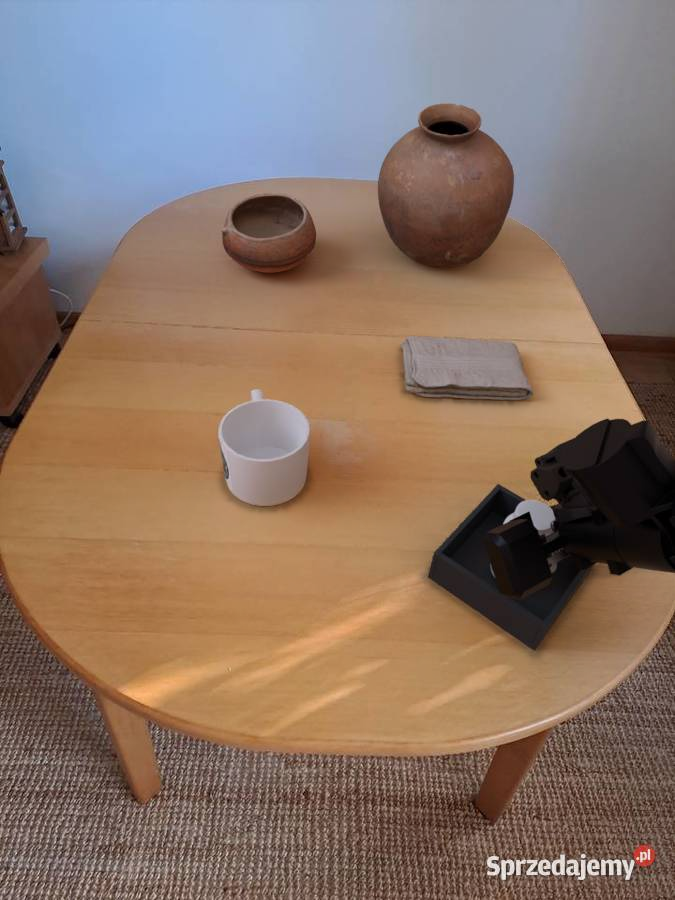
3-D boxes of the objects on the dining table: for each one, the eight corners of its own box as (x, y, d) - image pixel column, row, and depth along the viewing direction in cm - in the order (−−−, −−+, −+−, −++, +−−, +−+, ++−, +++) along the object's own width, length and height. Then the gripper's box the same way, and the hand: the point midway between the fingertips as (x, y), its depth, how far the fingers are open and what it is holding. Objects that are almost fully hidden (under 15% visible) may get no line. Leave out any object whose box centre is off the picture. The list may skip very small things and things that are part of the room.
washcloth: (398, 347, 102) (400, 331, 100) (514, 351, 103) (519, 335, 101) (404, 399, 94) (407, 382, 92) (530, 403, 95) (536, 386, 92)
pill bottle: (549, 578, 73) (575, 522, 66) (511, 599, 71) (534, 543, 64) (515, 544, 76) (537, 486, 69) (479, 563, 74) (497, 506, 67)
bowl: (208, 272, 115) (203, 217, 108) (251, 233, 125) (249, 180, 118) (291, 295, 111) (291, 239, 104) (328, 253, 121) (331, 199, 114)
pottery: (475, 223, 132) (504, 85, 114) (512, 287, 116) (552, 138, 98) (361, 225, 129) (373, 84, 112) (383, 290, 113) (401, 138, 96)
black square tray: (591, 570, 75) (604, 545, 72) (534, 651, 67) (547, 628, 64) (489, 508, 81) (498, 483, 77) (427, 577, 73) (433, 552, 70)
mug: (316, 503, 80) (318, 455, 74) (227, 515, 78) (222, 467, 72) (297, 426, 89) (297, 379, 83) (217, 435, 87) (212, 387, 81)
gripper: (687, 406, 58) (562, 423, 73) (523, 480, 51) (421, 482, 65) (723, 526, 59) (593, 519, 73) (567, 615, 52) (457, 588, 66)
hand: (519, 524), depth 70 cm, fingers closed on pill bottle, 5 cm apart
